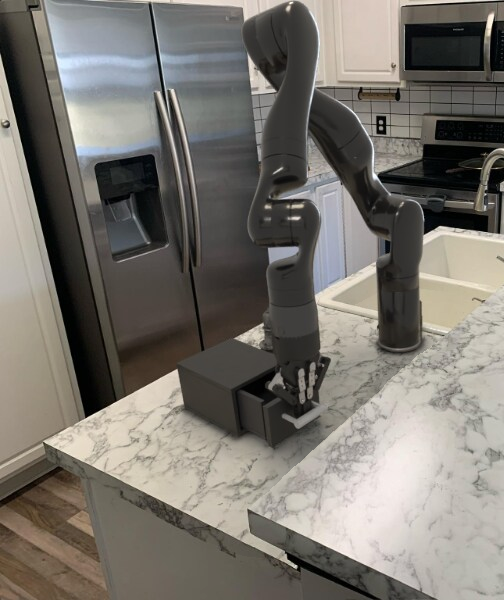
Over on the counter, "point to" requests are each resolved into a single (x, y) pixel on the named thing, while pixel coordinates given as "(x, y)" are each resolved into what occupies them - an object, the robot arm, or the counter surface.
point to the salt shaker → (266, 334)
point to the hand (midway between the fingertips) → (303, 418)
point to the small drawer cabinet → (222, 380)
